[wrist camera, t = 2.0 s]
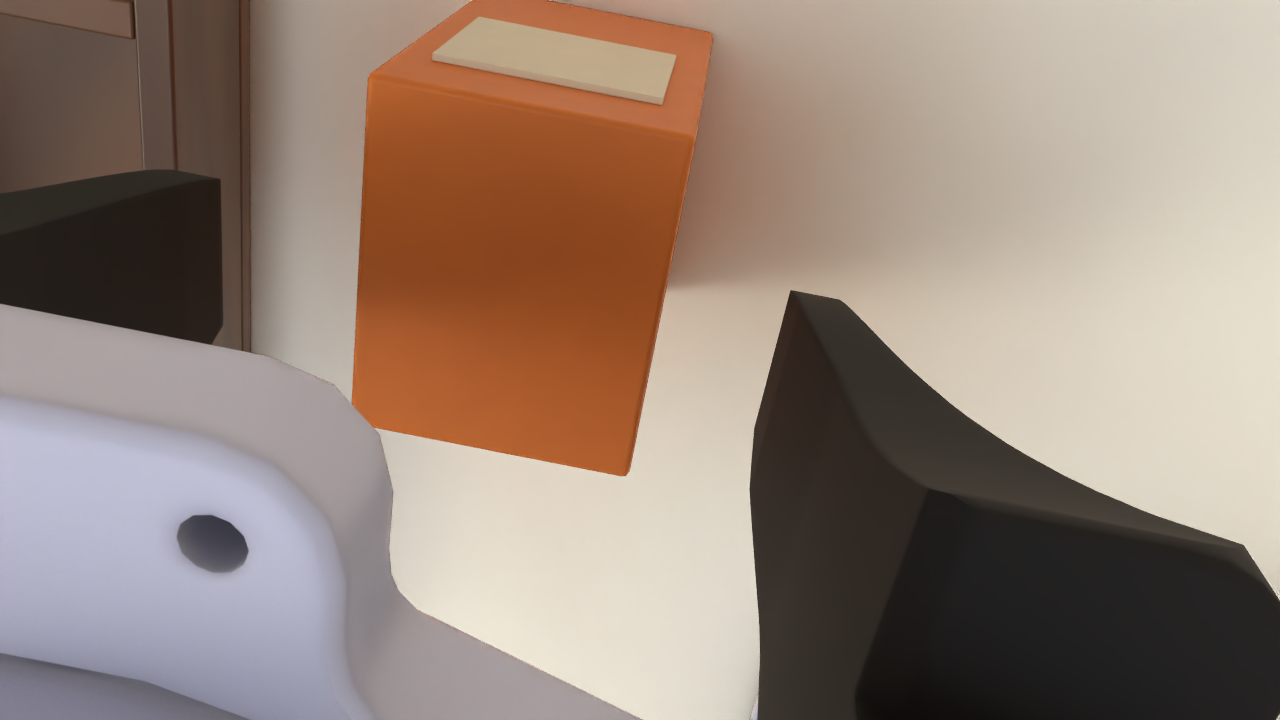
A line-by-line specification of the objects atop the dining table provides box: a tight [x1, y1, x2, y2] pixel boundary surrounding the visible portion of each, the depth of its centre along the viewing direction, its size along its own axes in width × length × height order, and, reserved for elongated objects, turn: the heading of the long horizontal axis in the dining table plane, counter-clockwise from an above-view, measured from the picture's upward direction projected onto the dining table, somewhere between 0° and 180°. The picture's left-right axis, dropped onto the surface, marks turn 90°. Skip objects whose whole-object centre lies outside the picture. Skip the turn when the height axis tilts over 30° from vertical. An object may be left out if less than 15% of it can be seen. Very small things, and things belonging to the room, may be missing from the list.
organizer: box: [0, 0, 250, 353], centre depth 19 cm, size 8×22×3 cm, turn 170°
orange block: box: [352, 0, 713, 476], centre depth 17 cm, size 4×5×6 cm
